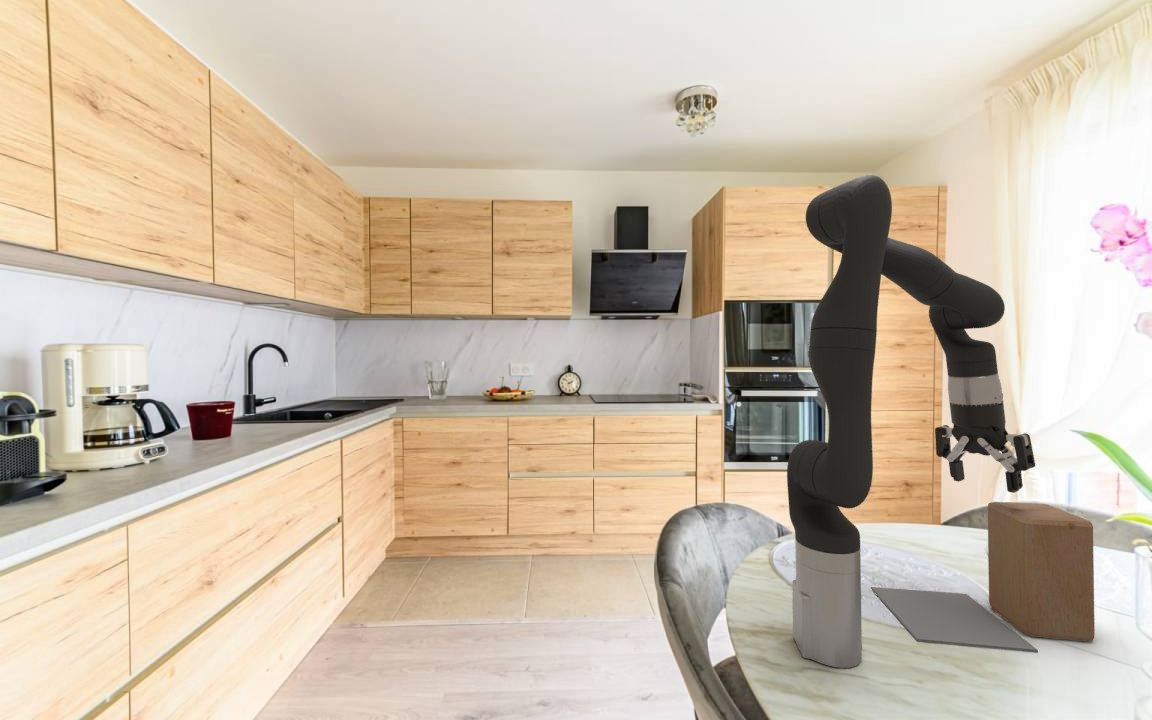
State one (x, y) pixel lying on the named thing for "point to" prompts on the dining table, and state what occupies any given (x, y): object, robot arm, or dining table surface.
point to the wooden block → (1041, 570)
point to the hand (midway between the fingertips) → (985, 485)
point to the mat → (950, 619)
